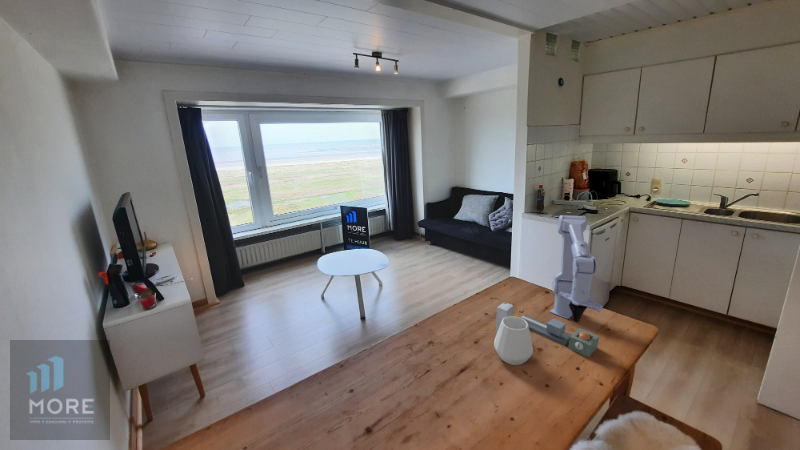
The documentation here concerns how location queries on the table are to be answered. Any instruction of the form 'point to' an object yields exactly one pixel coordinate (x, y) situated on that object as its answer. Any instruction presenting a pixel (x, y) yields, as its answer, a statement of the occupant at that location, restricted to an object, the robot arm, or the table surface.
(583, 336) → the button
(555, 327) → the carriage
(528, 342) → the cup
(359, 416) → the table surface
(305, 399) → the table surface
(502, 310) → the skincare box
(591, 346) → the cabinet
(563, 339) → the rail base
